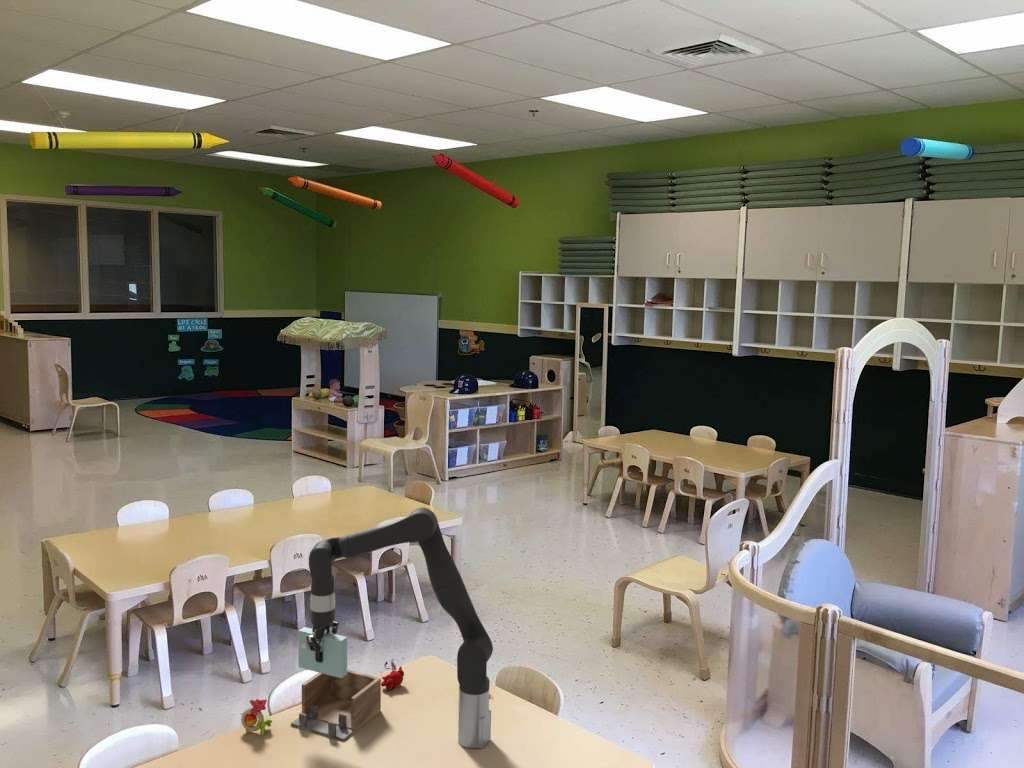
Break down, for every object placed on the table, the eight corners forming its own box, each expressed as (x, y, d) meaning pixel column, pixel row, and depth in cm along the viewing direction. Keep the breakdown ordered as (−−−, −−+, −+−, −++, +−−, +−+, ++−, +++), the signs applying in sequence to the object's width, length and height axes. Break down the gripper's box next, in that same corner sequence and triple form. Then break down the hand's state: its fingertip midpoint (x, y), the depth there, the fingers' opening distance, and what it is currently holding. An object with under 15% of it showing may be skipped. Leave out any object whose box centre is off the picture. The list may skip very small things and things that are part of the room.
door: (347, 674, 264) (347, 637, 262) (339, 679, 260) (339, 642, 258) (304, 663, 270) (304, 626, 269) (296, 668, 267) (296, 631, 265)
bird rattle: (244, 744, 262) (271, 734, 261) (230, 711, 261) (256, 702, 260) (252, 733, 269) (278, 723, 268) (237, 701, 268) (263, 692, 267)
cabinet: (380, 710, 280) (380, 678, 279) (343, 741, 261) (343, 706, 260) (329, 696, 288) (329, 665, 287) (290, 725, 270) (290, 692, 268)
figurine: (403, 669, 308) (408, 689, 293) (380, 676, 306) (383, 697, 292) (399, 653, 307) (404, 673, 292) (376, 659, 305) (379, 680, 290)
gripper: (318, 616, 255) (318, 671, 257) (346, 600, 268) (346, 653, 270) (298, 612, 258) (298, 666, 260) (326, 596, 271) (326, 648, 273)
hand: (322, 659), depth 265 cm, fingers closed on door, 3 cm apart
